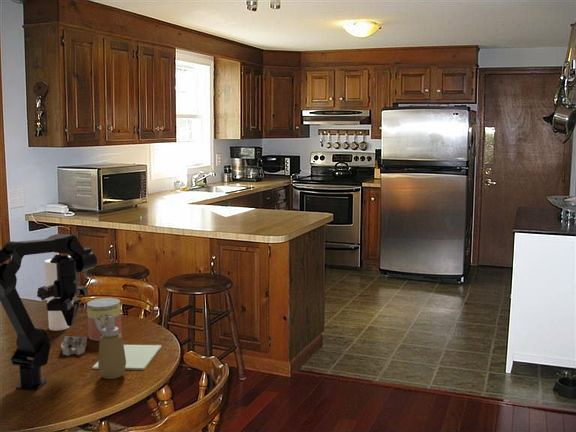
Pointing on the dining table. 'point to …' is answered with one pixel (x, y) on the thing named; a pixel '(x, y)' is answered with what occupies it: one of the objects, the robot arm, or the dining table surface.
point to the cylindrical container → (54, 317)
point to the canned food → (102, 316)
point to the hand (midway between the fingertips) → (69, 325)
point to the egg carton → (73, 345)
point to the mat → (138, 356)
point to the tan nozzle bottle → (111, 352)
